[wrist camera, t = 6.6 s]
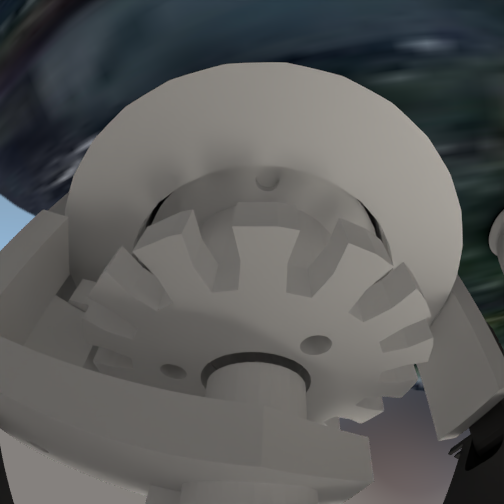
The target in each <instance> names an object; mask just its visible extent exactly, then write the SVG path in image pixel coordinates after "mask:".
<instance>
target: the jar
mask: <svg viewBox="0 0 504 504" xmlns="http://www.w3.org/2000/svg"><path fill="white" fill-rule="evenodd" d="M489 246H490V249H491V251H492V252H493V253H494V254H495V255H497V256H498V260H499V263H500V266H501V269H502V271H503V273H504V210H503V211H502V212H501V213H500V214H499V215H498V217H497V218H496V219H495V221H494V223H493V225H492V227H491V230H490V234H489Z"/></svg>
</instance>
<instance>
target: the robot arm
mask: <svg viewBox="0 0 504 504" xmlns="http://www.w3.org/2000/svg"><path fill="white" fill-rule="evenodd" d="M68 195H69V193H67V194H66V195H65V196H64V197H63V198H62V199H60V200H59V201H58V202H57V203H56V204H55V205H54V206H52V207H51V208H50V209H49V210H48V211H50V212H53V213H56V214H60V215H63V216H65V208H66V203H67V199H68ZM69 273H70V275H69V276H68V277H67V279H66V280H65V282H64V283H63V285H62V286H61V287H60V289H59V290H58V292H57V293H56V296H58V297H60V298H61V299H63V300H65V301H66V302H68V301H69V299H70V298H71V296H72V295H73V293H74V291H75V290H76V288H77V287H76V285H75V283H74V280H73V278H72V276H71V272H70V268H69ZM429 328H430V330H431V333H432V335H433V348H432V351H431V354H430V357H429V360H428V362H423V363H417V367H418V370H419V373H420V376H421V379H422V383H423V386H424V389H425V393H426V396H427V400H428V403H429V407H430V411H431V414H432V418H433V422H434V426H435V430H436V434H437V438H438V441H441V440H446V439H451V438H456V437H457V436H459V435H460V434H461V433H463V432H464V431H465V430H467V429H468V428H469V429H470V433H471V434H470V435H469V436H468V437H466V438H465V439H464V440H462V441H461V442H459V443H458V444H457V445H455V446H454V447H453V448H451V450H450V452H449V453H448V454H449V455H452V454H453V453H455V452H456V451H458V450H459V449H461V448H462V449H461V451H460V452H458V453H457V454H456V455H455V456H454V457H455V458H457V459H459V460H458V463H457V466H456V469H455V472H454V475H453V478H452V481H451V484H450V487H449V490H448V492H447V495H446V498H445V500H444V502H443V504H504V353H503V351H504V350H503V348H502V346H501V344H500V343H498V341H499V340H498V338H497V336H496V335H495V333H494V331H493V329H492V328H491V326H490V325H489V324H488V323H487V322H486V321H485V320H484V318H483V316H482V314H481V312H480V311H479V309H478V307H477V305H476V304H475V302H474V300H473V299H472V297H471V295H470V294H469V292H468V290H467V289H466V287H465V285H464V284H463V282H462V281H461V279H460V278H459V276H458V274H457V277H456V280H455V282H454V284H453V287H452V289H451V291H450V294H449V296H448V298H447V300H446V303H445V305H444V307H443V308H442V310H441V311H440V313H439V314H438V316H437V317H436V319H435V320H434V321H433V323H432V324H431V326H430V327H429ZM0 504H14V502H13V499H12V495H11V492H10V488H9V484H8V480H7V476H6V472H5V468H4V463H3V458H2V453H1V448H0Z"/></svg>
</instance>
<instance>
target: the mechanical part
mask: <svg viewBox="0 0 504 504" xmlns="http://www.w3.org/2000/svg"><path fill="white" fill-rule="evenodd" d="M462 246H463V242H462V216H461V208H460V205H459V201H458V198H457V194H456V191H455V187H454V184H453V181H452V178H451V175H450V173H449V171H448V169H447V167H446V166H445V164H444V162H443V161H442V159H441V157H440V156H439V154H438V152H437V151H436V149H435V148H434V146H433V144H432V143H431V141H430V140H429V138H428V137H427V136H426V135H425V134H424V133H423V132H422V131H421V130H420V129H419V128H418V127H417V126H416V125H415V124H414V123H413V122H412V121H411V120H410V119H409V118H408V117H407V116H406V115H405V114H404V113H403V112H401V111H400V110H399V109H398V108H397V107H396V106H395V105H394V104H393V103H391V102H390V101H388V100H386V99H385V98H383V97H381V96H379V95H378V94H376V93H374V92H372V91H370V90H368V89H367V88H365V87H363V86H361V85H359V84H357V83H355V82H353V81H351V80H349V79H347V78H345V77H343V76H340V75H336V74H333V73H329V72H325V71H321V70H317V69H313V68H309V67H304V66H300V65H295V64H290V63H281V62H264V63H233V64H223V65H219V66H216V67H212V68H208V69H204V70H201V71H197V72H194V73H191V74H187V75H184V76H181V77H178V78H175V79H172V80H169V81H167V82H166V83H164V84H162V85H160V86H159V87H157V88H155V89H154V90H152V91H150V92H149V93H147V94H145V95H144V96H142V97H140V98H139V99H137V100H136V101H134V102H132V103H131V104H129V105H128V106H126V107H125V108H124V109H123V110H122V111H121V112H120V113H119V114H118V115H117V116H116V117H115V118H114V119H113V120H112V121H111V122H110V123H109V124H108V125H107V126H106V127H105V128H104V129H103V130H102V131H101V133H100V134H99V135H98V136H97V137H96V138H95V139H94V140H93V142H92V144H91V145H90V147H89V149H88V150H87V152H86V154H85V156H84V158H83V159H82V161H81V163H80V165H79V167H78V169H77V170H76V172H75V174H74V177H73V180H72V184H71V188H70V191H69V195H68V199H67V203H66V208H65V216H63V215H60V214H56V213H53V212H50V211H46V210H42V211H41V212H40V213H39V214H38V215H37V216H36V217H35V218H33V219H32V220H31V221H30V222H29V223H28V224H27V225H26V226H25V227H24V228H23V229H22V230H21V231H20V232H19V233H18V234H17V235H16V236H15V237H14V238H13V239H12V240H11V241H10V242H9V243H8V244H7V245H6V246H5V247H4V248H3V249H2V250H1V251H0V428H1V429H2V430H4V431H5V432H6V433H8V434H9V435H11V436H12V437H13V438H15V439H16V440H18V441H20V442H21V443H23V444H24V445H26V446H28V447H30V448H31V449H33V450H35V451H37V452H38V453H40V454H42V455H44V456H46V457H48V458H50V459H52V460H53V461H56V462H58V463H61V464H63V465H65V466H68V467H71V468H73V469H75V470H78V471H80V472H82V473H85V474H87V475H89V476H92V477H94V478H97V479H99V480H101V481H104V482H106V483H109V484H112V485H114V486H117V487H120V488H123V489H126V490H129V491H132V492H134V493H138V494H141V495H144V496H147V499H146V504H343V503H344V502H346V501H347V500H349V499H350V498H352V497H353V496H354V495H356V494H357V493H359V492H360V491H362V490H363V489H364V488H366V487H367V486H369V485H370V484H371V483H373V482H374V479H373V469H372V460H371V452H370V444H369V438H368V437H365V436H361V435H357V434H353V433H350V432H346V431H342V430H340V423H339V417H341V418H347V419H351V420H354V421H356V422H358V423H363V422H365V421H367V420H369V419H370V418H372V417H374V416H376V415H378V414H379V413H381V412H383V411H384V406H383V401H382V397H383V396H386V397H397V398H401V397H402V396H403V395H404V394H405V393H406V392H407V391H408V390H409V389H410V388H411V387H412V386H413V385H414V384H415V383H416V381H417V380H418V378H417V374H416V371H415V368H414V365H413V364H417V363H423V362H428V360H429V357H430V354H431V351H432V348H433V335H432V333H431V330H430V328H429V327H430V326H431V324H432V323H433V321H434V320H435V319H436V317H437V316H438V314H439V313H440V311H441V310H442V308H443V307H444V305H445V303H446V300H447V298H448V296H449V294H450V291H451V289H452V287H453V284H454V282H455V280H456V277H457V272H458V267H459V262H460V257H461V252H462ZM69 268H70V272H71V276H72V278H73V280H74V283H75V285H76V287H77V288H76V290H75V291H74V293H73V295H72V296H71V298H70V299H69V301H68V302H66V301H65V300H63V299H61V298H60V297H58V296H56V293H57V292H58V290H59V289H60V287H61V286H62V285H63V283H64V282H65V280H66V279H67V277H68V276H69V275H70V273H69Z"/></svg>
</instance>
